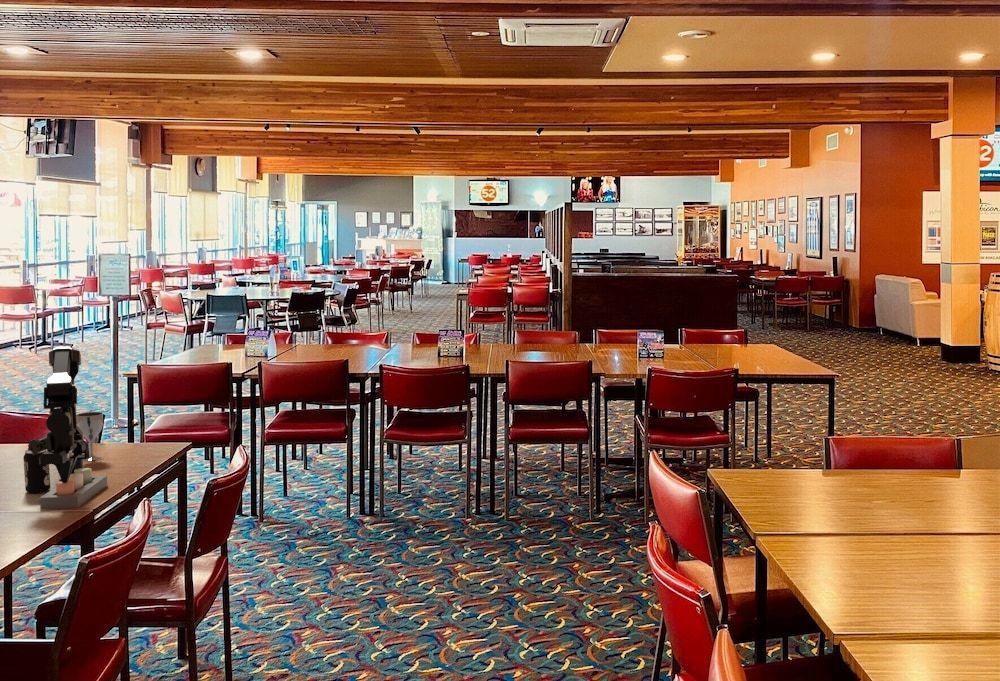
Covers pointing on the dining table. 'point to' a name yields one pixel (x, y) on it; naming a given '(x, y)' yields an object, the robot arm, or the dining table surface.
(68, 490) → the orange rounded dome
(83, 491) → the egg tray
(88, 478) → the pale green egg
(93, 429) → the wine glass
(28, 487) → the beverage can
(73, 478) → the beige domed piece
